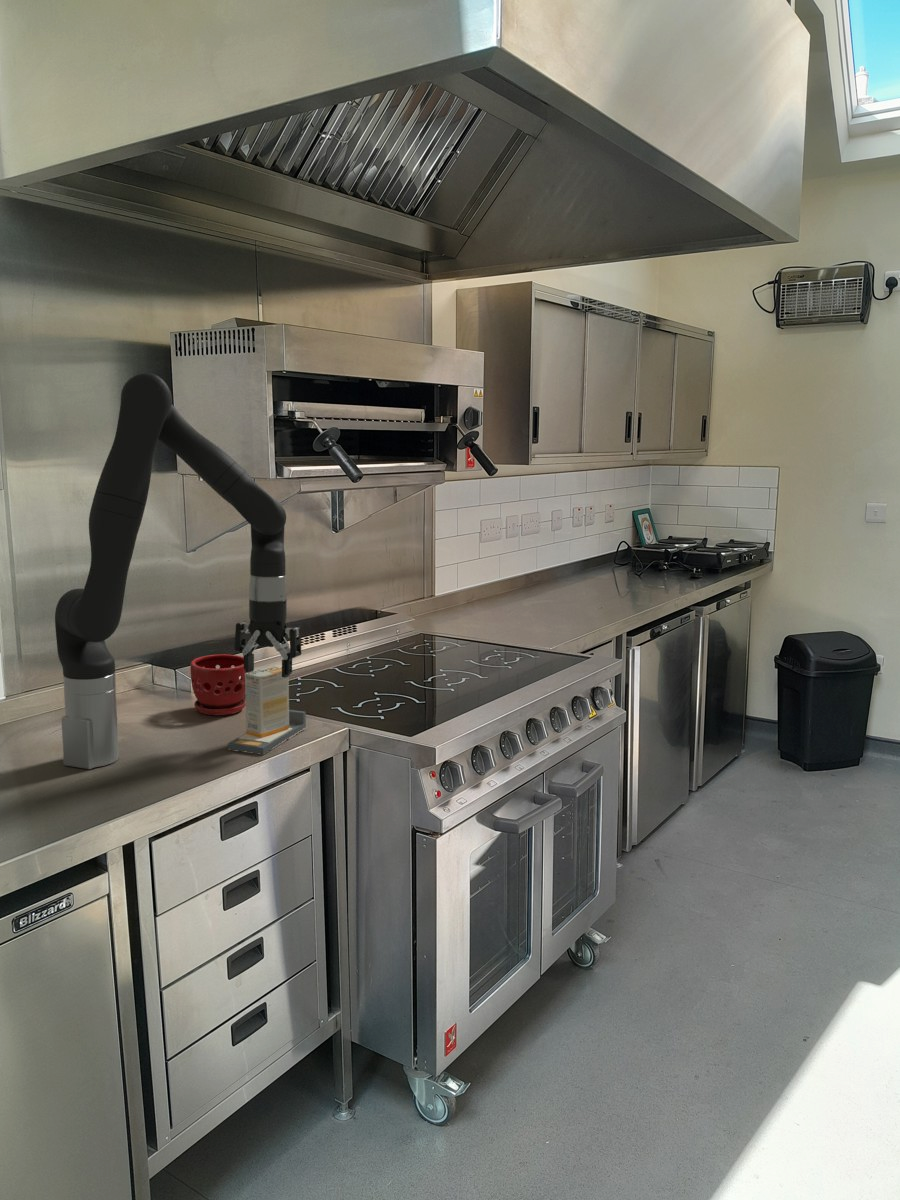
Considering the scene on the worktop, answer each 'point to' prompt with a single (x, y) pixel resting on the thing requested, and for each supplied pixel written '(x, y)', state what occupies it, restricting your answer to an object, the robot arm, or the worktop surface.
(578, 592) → the worktop surface
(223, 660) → the plant pot
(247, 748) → the plate
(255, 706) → the supplement box
